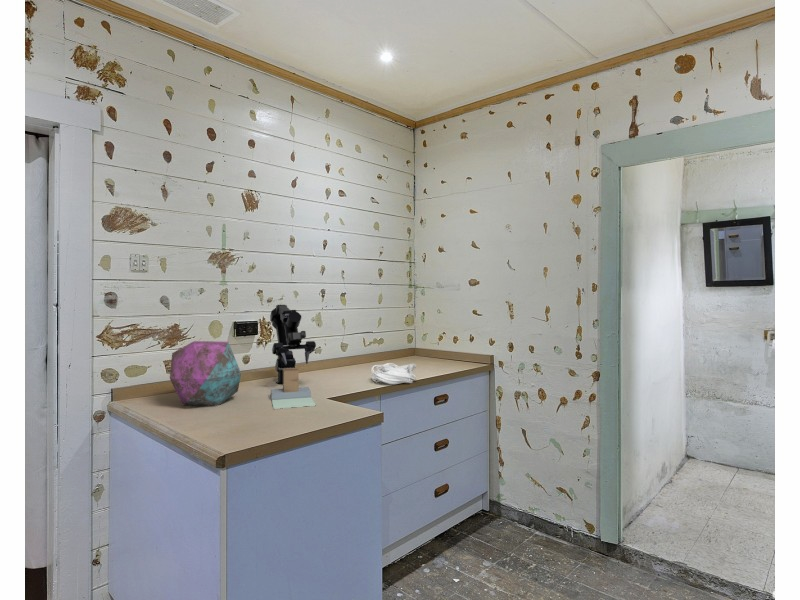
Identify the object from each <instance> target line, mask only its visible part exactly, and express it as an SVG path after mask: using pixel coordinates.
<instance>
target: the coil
mask: <svg viewBox="0 0 800 600" xmlns="http://www.w3.org/2000/svg"><path fill="white" fill-rule="evenodd" d="M375 368H376V369H375ZM416 368H417V364H416V363H408V364H404V365H400V366H399V365H397V364H395V363H393V362H388V363H384V364H374V365H373V366H371V369H370V373H371V378H370V379H371V380H372V381H373V382H374V383H375V382H376V383H382V382H383V383H385V384H389V385H398V384H402V383H406V384H413V380H415V381H417V380H418V378H417V376H416V375H415V374H414V373H413V371H414V370H415V369H416ZM374 369H375V370H374ZM376 380H377V381H376Z"/></svg>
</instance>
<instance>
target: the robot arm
mask: <svg viewBox="0 0 800 600" xmlns="http://www.w3.org/2000/svg"><path fill="white" fill-rule="evenodd" d="M269 316H270V317H269V318H270V319H269V321H270V322H271V326H272V327H273V328H274V329H275V330H276V337H277V342H274V343H273V345H272V348H271V351H272V355H275V356H277V358H276V362H275V365H274V366H275V371H276V372H277V381H276V382H275V384H279V385H283V369H287V368H296V358H295V357H294V353H293V350H304V359H305V364H306V365H308V363H309V358H310V354H312V353H314V352H315V350H316V347H317V344H316V342H315V341H314V340H308V341H306V342H305V344H301V343H302V340H303V339H306V338H307V333H306V330H301V331H300V332H299V328H298V327H299V326H300V323H301V320H302V315H301V313H299V312H298V311H297V309H290V308H289V307H288V305H287V304H277V305H275V308H273V309H272V310H271V311H270V315H269Z"/></svg>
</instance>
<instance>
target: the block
mask: <svg viewBox="0 0 800 600" xmlns="http://www.w3.org/2000/svg"><path fill="white" fill-rule="evenodd" d="M299 378H300V377H299V369H298V367H295V368H287V369H283V384H282V388H283V391H284V392H299V387H300V386H299V383H300V382H299Z"/></svg>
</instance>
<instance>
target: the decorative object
mask: <svg viewBox="0 0 800 600" xmlns="http://www.w3.org/2000/svg"><path fill="white" fill-rule="evenodd" d="M241 376H242V372H241V369H240V367H239V365H238V362H237V360H236V358H235V355H234V352H233V350H232V348H231V344H230V343H229V341H212V340H211V341H209V340H208V341H205V340H204V341H202V340H201V341H198V340H194V341H192V342H190V343H188V344H186V345H185V346H184V345H183V346H182V347H181V348H179V349H177V350H175V351H173V352H172V354H171V364H170V372H169V380H170V382H171V384H172V386H173V388H174V389H175V390H174V391H175V392H176V394H177V396H178V398H179V400H180V402H181V404H182V405H183V404H190V405H189V406H208V405H216V406H217V405H219V406H220V405H221V404H223V403H224V402H225V401H227V400H228V399H230V398H231V397H232V396H234V395H235V394H236V393H238V392H239V387H240V381H241ZM216 406H215V407H216ZM217 407H218V406H217Z"/></svg>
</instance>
